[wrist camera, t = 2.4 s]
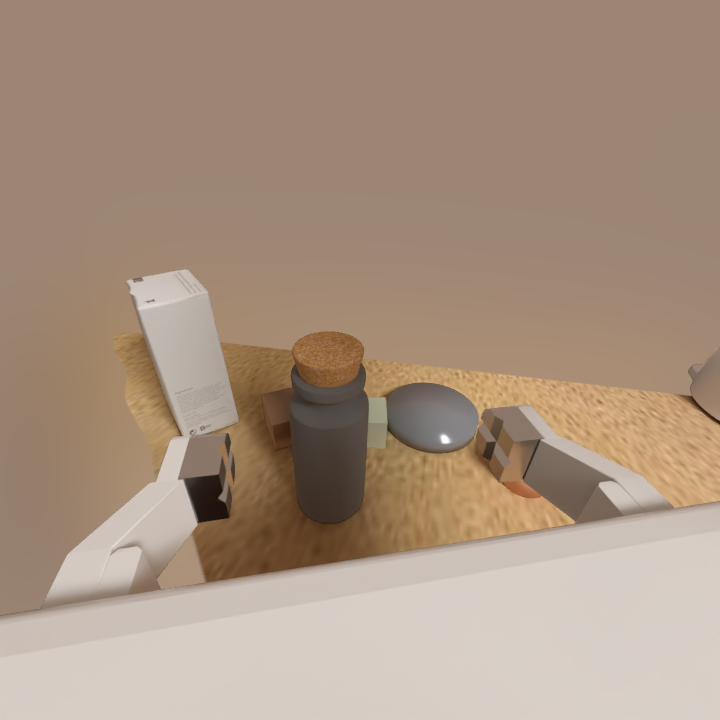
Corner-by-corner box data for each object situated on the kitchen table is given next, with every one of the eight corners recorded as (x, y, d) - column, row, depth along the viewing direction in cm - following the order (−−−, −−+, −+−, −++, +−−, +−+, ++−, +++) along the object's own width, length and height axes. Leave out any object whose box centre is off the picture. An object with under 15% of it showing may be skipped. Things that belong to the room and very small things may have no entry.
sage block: (383, 422, 40) (385, 397, 38) (385, 449, 37) (387, 423, 35) (338, 420, 40) (338, 395, 38) (335, 447, 37) (335, 421, 35)
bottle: (314, 460, 35) (307, 321, 27) (372, 478, 34) (383, 336, 25) (284, 511, 30) (265, 360, 22) (349, 534, 29) (354, 382, 21)
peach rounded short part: (530, 457, 36) (541, 432, 35) (557, 495, 33) (571, 468, 31) (489, 463, 36) (498, 437, 34) (513, 501, 32) (524, 475, 30)
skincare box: (240, 423, 39) (215, 293, 31) (180, 445, 36) (136, 308, 28) (217, 383, 45) (190, 265, 37) (164, 400, 42) (122, 275, 34)
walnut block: (308, 408, 42) (306, 383, 40) (323, 437, 38) (322, 411, 36) (264, 419, 40) (260, 394, 38) (276, 451, 36) (272, 425, 34)
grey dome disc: (454, 388, 46) (456, 379, 45) (492, 447, 37) (495, 437, 37) (376, 395, 44) (377, 386, 43) (398, 458, 36) (399, 448, 35)
